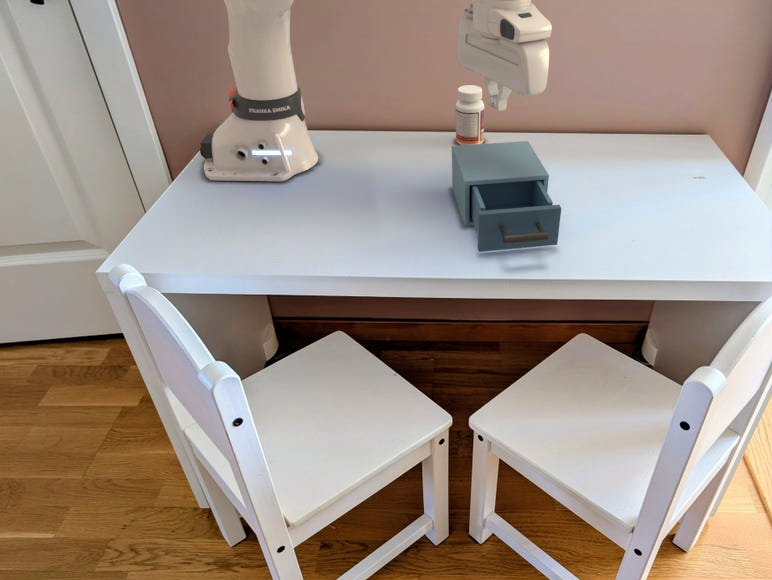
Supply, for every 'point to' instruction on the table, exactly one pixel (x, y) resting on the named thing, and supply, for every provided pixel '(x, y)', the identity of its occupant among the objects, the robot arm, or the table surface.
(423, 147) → the table surface
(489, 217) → the drawer
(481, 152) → the cabinet
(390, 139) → the table surface
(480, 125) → the pill bottle
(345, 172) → the table surface
